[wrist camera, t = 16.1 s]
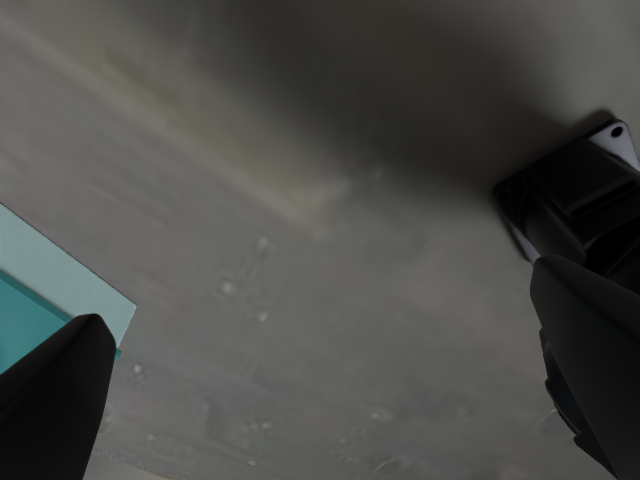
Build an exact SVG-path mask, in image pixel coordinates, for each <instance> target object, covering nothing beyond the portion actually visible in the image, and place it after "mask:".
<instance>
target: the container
mask: <svg viewBox="0 0 640 480" xmlns="http://www.w3.org/2000/svg"><path fill="white" fill-rule="evenodd" d="M136 307H137V305H135V304H134V303H133V302H131V301H130V300H129V299H127V298H126V297H125V296H123V295H122V294H121V293H119V292H118V291H117V290H115V289H114V288H113V287H111V286H110V285H109V284H107V283H106V282H105V281H103V280H102V279H101V278H99V277H98V276H97V275H95V274H94V273H93V272H91V271H90V270H89V269H87V268H86V267H85V266H83V265H82V264H81V263H79V262H78V261H77V260H75V259H74V258H73V257H71V256H70V255H69V254H67V253H66V252H65V251H63V250H62V249H61V248H59V247H58V246H57V245H55V244H54V243H53V242H51V241H50V240H49V239H47V238H46V237H45V236H43V235H42V234H41V233H39V232H38V231H37V230H35V229H34V228H33V227H31V226H30V225H29V224H27V223H26V222H25V221H23V220H22V219H21V218H19V217H18V216H17V215H15V214H14V213H13V212H11V211H10V210H9V209H7V208H6V207H5V206H3V205H2V204H1V203H0V374H2V373H3V372H4V371H6V370H7V369H8V368H9V367H11V366H12V365H13V364H15V363H16V362H17V361H19V360H20V359H21V358H22V357H24V356H25V355H26V354H28V353H29V352H30V351H32V350H33V349H34V348H36V347H37V346H38V345H39V344H41V343H42V342H43V341H45V340H46V339H47V338H49V337H50V336H51V335H52V334H54V333H55V332H56V331H58V330H59V329H60V328H62V327H63V326H64V325H65V324H67V323H68V322H69V321H71V320H72V319H73V318H75V317H76V316H78V315H83V314H91V313H97V314H99V315H100V316H101V317H102V318H103V320H104V321H105V323H106V325H107V326H108V328H109V330H110V332H111V333H112V335H113V337H114V338H115V341H116V354H115V359H114V361H115V360H117V359H119V357H120V355H121V351H120V350H119V349H118V346H119V344H120V342H121V340H122V338H123V336H124V333H125V331H126V329H127V327H128V325H129V323H130V320H131V318H132V316H133V314H134V312H135V309H136Z"/></svg>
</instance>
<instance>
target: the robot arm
mask: <svg viewBox="0 0 640 480" xmlns="http://www.w3.org/2000/svg"><path fill="white" fill-rule="evenodd" d="M616 127H618V129H617V130H616V132H614V133H613V134H611V132H612V130H613V129H614V128H616ZM503 191H507V192H506V194H504V195H502V196H500V193H501V192H503ZM492 196H493V198H494V200H495V202H496V203H497V205H498V207H499V209H500V210H501V212H502V214H503V216H504V217H505V219H506V221H507V223H508V224H509V226H510V228H511V230H512V231H513V233H514V235H515V237H516V238H517V240H518V242H519V244H520V245H521V247H522V249H523V251H524V252H525V254H526V256H527V258H528V259H529V261H530V263H531V265H532V266H533V273H532V279H531V285H530V296H531V300H532V302H533V305H534V308H535V310H536V313H537V315H538V318H539V320H540V323H541V325H542V329H541V330H540V331H539V335H540V340H541V345H542V350H543V357H544V361H545V365H546V370H547V375H548V378H547V379H546V380H545V386H546V389H547V392H548V393H549V395H550V397H551V398H552V400H553V402H554V405H555V407H556V409H557V410H558V413H559V415H560V416H561V418H562V419H563V420H564V421H565V423H566V424H567V426H568V427H569V428H570V429H571V430H572V431H573V432H574V433H575V435H576V436H575V437H574V442H575V443H576V445H577V446H578V447H580V448H581V449H582V450H583V451H585V452H586V453H587V454H589V455H590V456H591V457H592V458H594V459H595V460H596V461H597V462H599V463H600V464H601V465H603V466H604V467H605V468H606V469H607V470H608V471H609V472H610V473H611V474H612V475H613V476H614V477H615V478H616V479H617V480H640V160H639V157H638V154H637V151H636V148H635V145H634V142H633V139H632V136H631V133H630V130H629V127H628V125H627V124H626V123H625V122H624V121H622V120H620V119H612V120H609V121H607V122H606V123H604V124H602V125H600V126H599V127H597V128H595V129H593V130H592V131H590V132H588V133H586V134H585V135H583V136H581V137H578V138H576V139H574V140H573V141H571V142H569V143H567V144H566V145H564V146H562V147H560V148H559V149H557V150H555V151H553V152H552V153H550V154H548V155H546V156H545V157H543V158H541V159H539V160H538V161H536V162H534V163H532V164H531V165H530V166H529V167H527V168H525V169H524V170H522V171H520V172H518V173H517V174H515V175H513V176H511V177H510V178H508V179H506V180H505V181H503V182H501V183H499V184H498V185H496V186H495V187H494V189H493V190H492ZM115 354H116V341H115V338H114V337H113V335H112V333H111V332H110V330H109V328H108V326H107V325H106V323H105V321H104V320H103V318H102V317H101V316H100V315H99V314H97V313H91V314H83V315H78V316H76V317H75V318H73V319H72V320H71V321H69V322H68V323H67V324H65V325H64V326H63V327H62V328H60V329H59V330H58V331H56V332H55V333H54V334H52V335H51V336H50V337H49V338H47V339H46V340H45V341H43V342H42V343H41V344H39V345H38V346H37V347H36V348H34V349H33V350H32V351H30V352H29V353H28V354H26V355H25V356H24V357H22V358H21V359H20V360H19V361H17V362H16V363H15V364H13V365H12V366H11V367H9V368H8V369H7V370H6V371H4V372H3V373H2V374H0V480H83V477H84V474H85V470H86V467H87V464H88V461H89V458H90V455H91V452H92V449H93V445H94V442H95V439H96V436H97V433H98V430H99V426H100V423H101V419H102V416H103V412H104V407H105V403H106V398H107V393H108V388H109V383H110V378H111V374H112V369H113V364H114V359H115Z"/></svg>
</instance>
